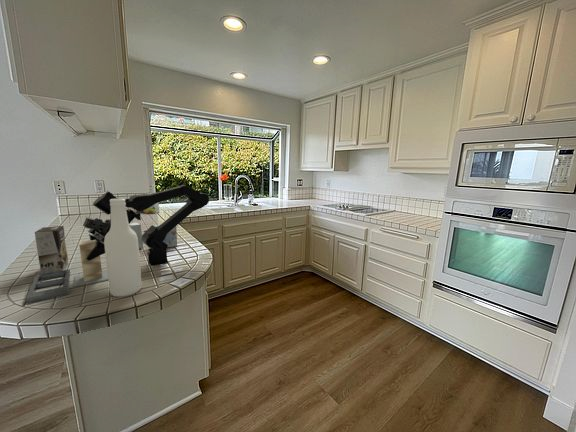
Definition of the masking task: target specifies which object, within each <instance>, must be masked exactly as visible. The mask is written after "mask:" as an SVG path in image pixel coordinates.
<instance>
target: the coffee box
mask: <svg viewBox="0 0 576 432" xmlns="http://www.w3.org/2000/svg"><path fill="white" fill-rule="evenodd" d="M34 237H35V243H36V244H35V245H36V251H37V256H38V263H39V264H38V265H39V268H40V269H39V270H40V274H46V273H51V272H57V271H63V270H66V268H67V266H68V265H69V264H70V263H69V257H68V250H67V243H66V242H67V241H66V237H65V229H64V225H59V226H58V225H56V226H48V227H46V226H45V227H41V228H39V229H38V230H36V231H34Z"/></svg>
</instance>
